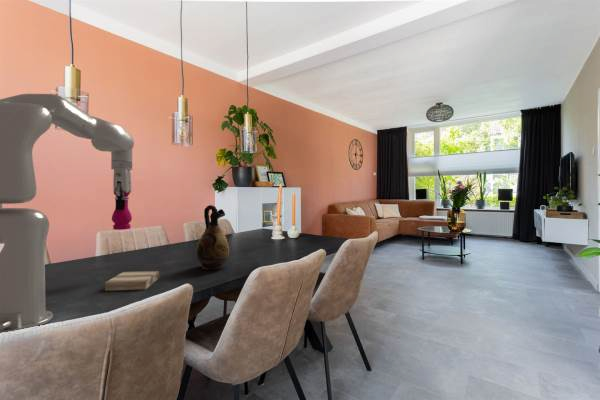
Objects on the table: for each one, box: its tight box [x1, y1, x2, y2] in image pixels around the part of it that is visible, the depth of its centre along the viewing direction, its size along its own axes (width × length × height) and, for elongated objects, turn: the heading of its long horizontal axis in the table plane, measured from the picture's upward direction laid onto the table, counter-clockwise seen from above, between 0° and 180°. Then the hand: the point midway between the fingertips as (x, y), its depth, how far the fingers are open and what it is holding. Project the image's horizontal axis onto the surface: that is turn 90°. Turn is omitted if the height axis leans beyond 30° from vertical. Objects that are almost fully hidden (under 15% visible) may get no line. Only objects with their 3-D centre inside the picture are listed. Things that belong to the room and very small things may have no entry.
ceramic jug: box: [195, 204, 230, 271], centre depth 139 cm, size 17×15×30 cm
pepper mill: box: [111, 187, 133, 231], centre depth 122 cm, size 7×7×20 cm
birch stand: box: [104, 270, 160, 292], centre depth 114 cm, size 14×14×3 cm
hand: (121, 208), depth 122 cm, fingers closed on pepper mill, 5 cm apart
